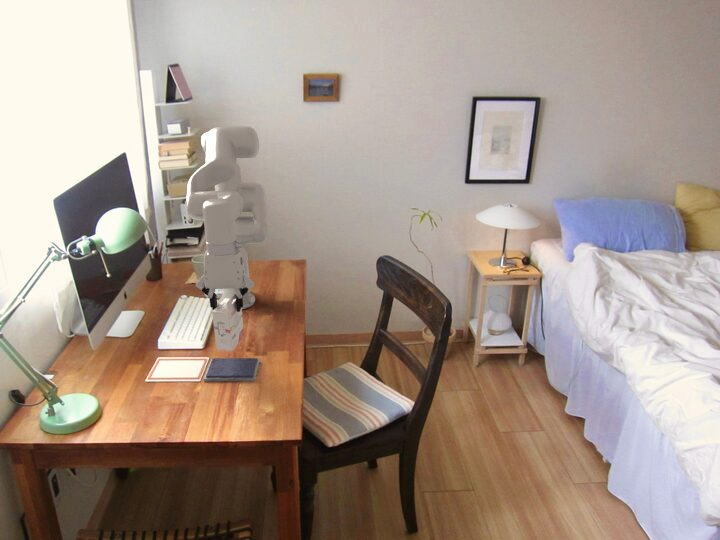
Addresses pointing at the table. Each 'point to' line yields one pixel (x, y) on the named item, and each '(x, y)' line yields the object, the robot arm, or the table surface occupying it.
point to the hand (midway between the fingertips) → (227, 309)
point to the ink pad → (232, 369)
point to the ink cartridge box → (227, 324)
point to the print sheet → (178, 369)
